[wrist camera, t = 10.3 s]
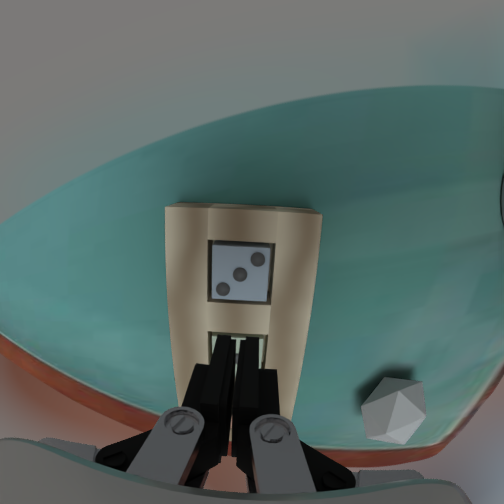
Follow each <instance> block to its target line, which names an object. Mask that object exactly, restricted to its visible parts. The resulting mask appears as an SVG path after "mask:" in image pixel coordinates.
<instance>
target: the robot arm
mask: <svg viewBox="0 0 504 504" xmlns="http://www.w3.org/2000/svg"><path fill="white" fill-rule="evenodd" d="M501 205H502V216H503V222H504V180H503V185H502V198H501ZM235 366H236V339H231V335H220V334H218V335H217V338H216V342H215V346H214V350H213V354H212V357H211V361H210V365H208V364H199V363H196V364H195V366H194V369H193V372H192V375H191V378H190V381H189V384H188V387H187V390H186V394H185V397H184V400H183V403H182V406H181V407H174V408H171V409H168V410H167V411H165V412H164V413H163V414H162V415H161V417H160V418H159V420H158V421H157V423H156V425H155V426H154V428H153V429H152V430H149V431H147V432H144V433H141V434H139V435H136V436H133V437H131V438H128V439H125V440H123V441H120V442H117V443H114V444H111V445H108V446H106V447H104V448H102V449H97V448H96V446H93V445H87V444H81V443H75V442H69V441H64V440H60V439H55V438H43V439H41V440H40V441H38V442H37V441H33V440H29V439H22V438H3V439H0V504H472V502H471V501H470V499H469V498H468V496H467V495H466V493H465V492H464V491H463V490H462V489H461V488H460V487H459V486H458V485H456V484H455V483H452V482H450V481H445V480H438V479H424V477H423V476H422V475H421V474H420V473H419V472H417V471H415V470H360V471H359V472H351V471H350V470H349V469H347V468H346V467H344V466H342V465H340V464H339V463H337V462H335V461H333V460H332V459H330V458H328V457H326V456H325V455H323V454H321V453H320V452H318V451H316V450H315V449H313V448H312V447H310V446H308V445H307V444H305V443H304V442H302V441H301V440H299V437H298V434H297V431H296V428H295V426H294V424H293V423H292V422H291V421H290V420H289V419H288V418H286V417H284V416H280V404H279V389H278V374H277V369H261V368H259V337H248V336H246V340H240V347H239V355H238V363H237V371H236V379H235ZM231 419H232V457H237V463H236V466H237V467H238V468H239V469H241V470H242V471H243V472H244V473H245V474H246V484H247V491H248V493H238V492H225V491H216V490H207V489H203V488H204V485H205V482H206V479H207V477H208V474H209V469H210V468H212V467H214V466H216V465H218V463H221V456H227V452H228V444H229V436H230V427H231Z"/></svg>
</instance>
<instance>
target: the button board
mask: <svg viewBox="0 0 504 504" xmlns="http://www.w3.org/2000/svg"><path fill="white" fill-rule="evenodd" d="M322 216H323V215H322V214H320V213H319V212H317V211H315V210H313V209H306V208H293V207H278V206H261V205H242V204H220V203H190V202H178V203H175V204H172V205H169V206H166V207H165V252H166V280H167V298H168V313H169V326H170V338H171V348H172V357H173V366H174V375H175V382H176V390H177V397H178V404H179V407H181V406H182V403H183V400H184V397H185V394H186V390H187V387H188V384H189V381H190V378H191V375H192V372H193V369H194V366H195V364H196V363H199V364H208V365H210V361H211V357H212V334H213V332H227V333H243V334H263V349H262V360H261V369H277V374H278V389H279V404H280V416H284V417H286V418H288V419H289V420H290V421H291V418H292V413H293V409H294V404H295V399H296V394H297V389H298V384H299V379H300V374H301V369H302V363H303V358H304V352H305V346H306V340H307V334H308V328H309V322H310V315H311V309H312V302H313V295H314V287H315V280H316V272H317V264H318V255H319V246H320V237H321V227H322ZM215 240H228V241H247V242H265V243H269V244H270V262H269V275H268V288H267V301H246V300H229V299H213V298H212V245H213V243H214V242H215ZM235 379H236V376H235ZM229 441H232V428H230V436H229Z"/></svg>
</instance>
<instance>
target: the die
mask: <svg viewBox="0 0 504 504" xmlns="http://www.w3.org/2000/svg"><path fill="white" fill-rule="evenodd" d="M361 410H362V415H363V421H364V427H365V433H366V438H369V439H374V440H379V441H385V442H391V443H397V444H405V443H406V442H407V441H408V439H409V438H410V437H411V436H412V434H413V433H414V432H415V431H416V429H417V428H418V427H419V425H420V424H421V423H422V421H423V420H424V419H425V417H426V407H425V398H424V391H423V384H422V381H414V380H405V379H397V378H390V377H384V378H383V379H382V381H381V382H380V383H379V385H378V386H377V387H376V388H375V390H374V391H373V392H372V393H371V395H370V396H369V397H368V398H367V400H366V401H365V402H364V403H363V404H362V406H361Z"/></svg>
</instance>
